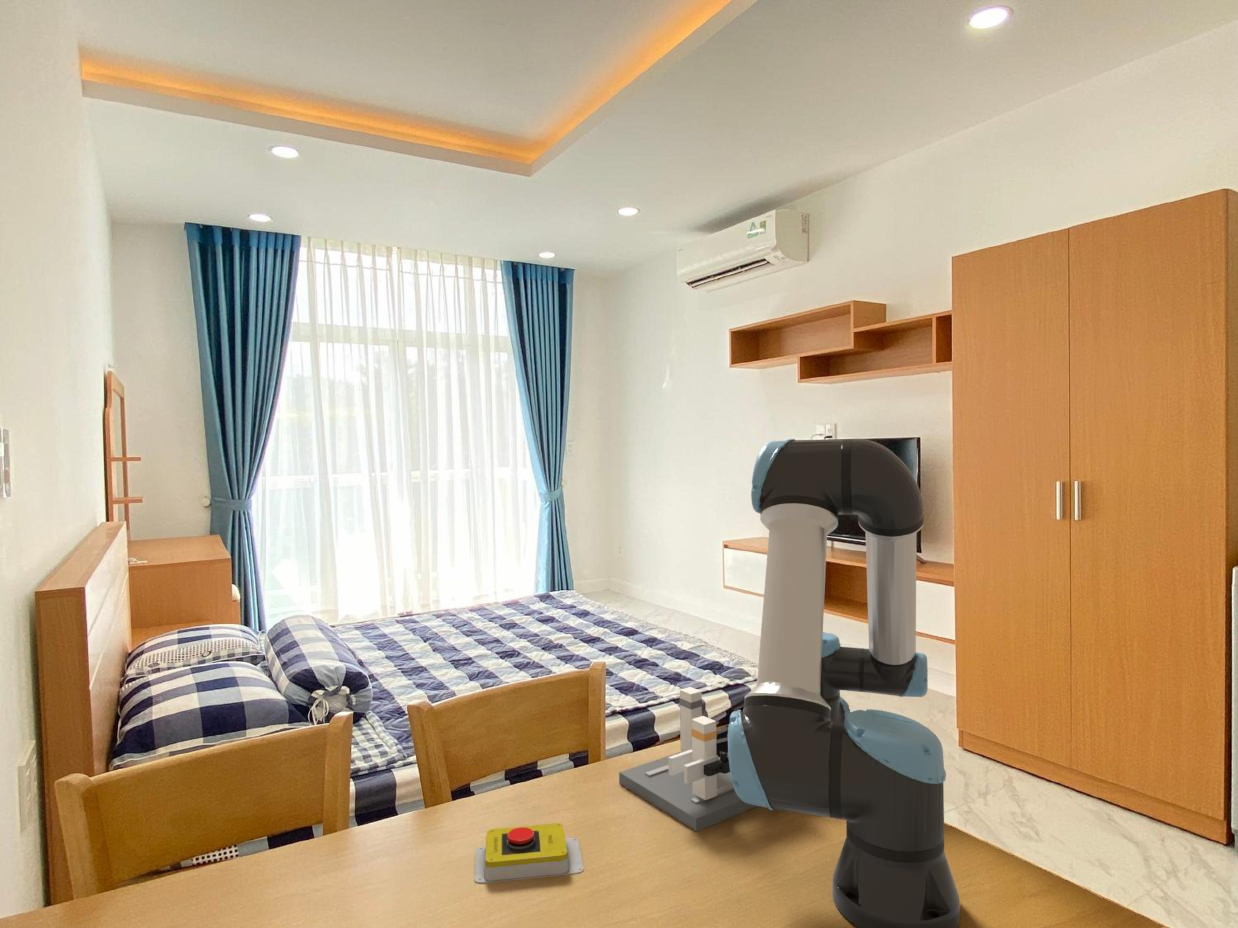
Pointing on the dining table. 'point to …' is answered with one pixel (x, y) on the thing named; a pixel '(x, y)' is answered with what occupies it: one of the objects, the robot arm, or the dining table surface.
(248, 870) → the dining table surface
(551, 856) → the emergency button
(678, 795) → the panel
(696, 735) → the block
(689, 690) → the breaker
